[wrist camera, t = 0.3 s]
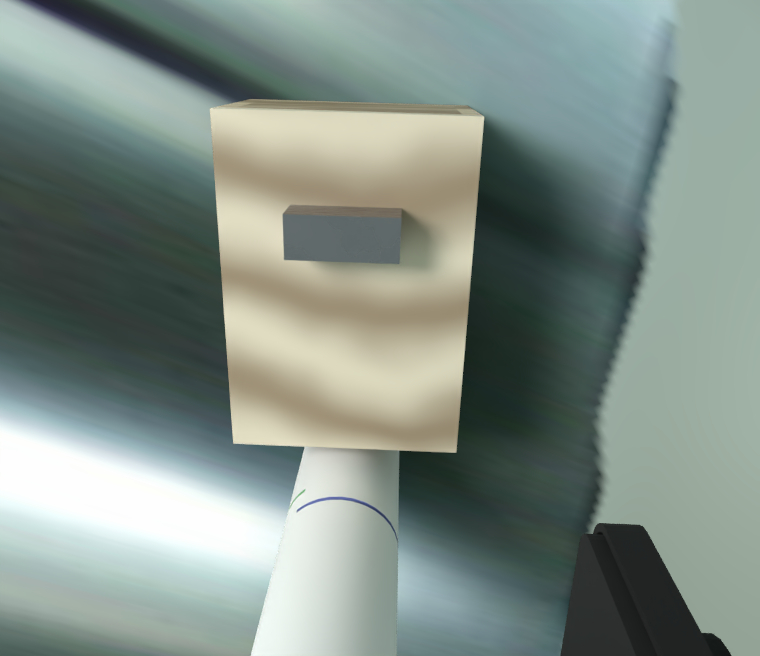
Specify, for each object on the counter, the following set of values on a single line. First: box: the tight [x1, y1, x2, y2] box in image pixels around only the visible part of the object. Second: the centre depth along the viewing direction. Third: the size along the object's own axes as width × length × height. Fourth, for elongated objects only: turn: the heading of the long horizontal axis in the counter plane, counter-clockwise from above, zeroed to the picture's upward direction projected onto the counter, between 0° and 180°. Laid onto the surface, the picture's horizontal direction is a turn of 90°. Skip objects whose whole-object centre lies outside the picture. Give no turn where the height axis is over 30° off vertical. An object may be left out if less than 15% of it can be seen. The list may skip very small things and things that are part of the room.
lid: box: [210, 107, 484, 453], centre depth 36 cm, size 20×14×4 cm
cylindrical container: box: [251, 447, 399, 656], centre depth 40 cm, size 7×7×25 cm
